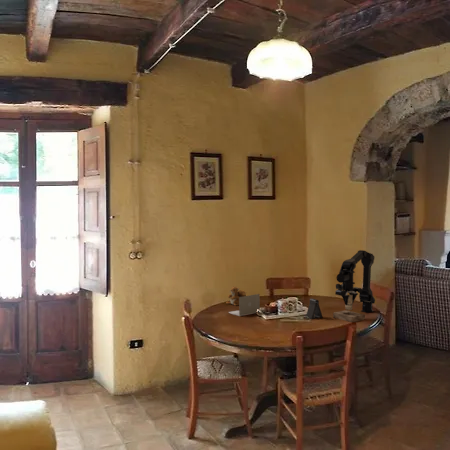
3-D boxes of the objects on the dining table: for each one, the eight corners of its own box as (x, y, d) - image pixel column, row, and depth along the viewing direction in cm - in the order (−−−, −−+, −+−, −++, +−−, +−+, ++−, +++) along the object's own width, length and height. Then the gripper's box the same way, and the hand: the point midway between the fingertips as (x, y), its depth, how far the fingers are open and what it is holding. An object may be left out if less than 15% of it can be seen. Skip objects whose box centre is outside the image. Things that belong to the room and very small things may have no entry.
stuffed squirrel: (225, 304, 366) (224, 286, 365) (240, 301, 374) (239, 284, 373) (233, 306, 358) (232, 288, 357) (248, 303, 366) (248, 286, 365)
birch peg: (348, 308, 319) (348, 294, 318) (353, 309, 315) (353, 295, 314) (343, 309, 316) (343, 295, 316) (348, 310, 312) (348, 296, 312)
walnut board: (346, 314, 326) (346, 310, 325) (364, 319, 312) (364, 314, 312) (333, 317, 319) (333, 312, 319) (351, 322, 306) (351, 317, 306)
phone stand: (311, 319, 315) (311, 300, 315) (305, 317, 321) (305, 299, 320) (322, 317, 319) (322, 299, 319) (317, 315, 325) (316, 297, 324)
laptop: (248, 309, 348) (247, 291, 347) (259, 312, 338) (259, 293, 337) (228, 313, 337) (227, 294, 336) (239, 316, 327) (239, 297, 326)
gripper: (349, 277, 326) (349, 300, 327) (329, 280, 316) (329, 304, 317) (362, 279, 317) (362, 303, 318) (341, 282, 307) (341, 307, 308)
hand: (348, 304), depth 315 cm, fingers closed on birch peg, 4 cm apart
